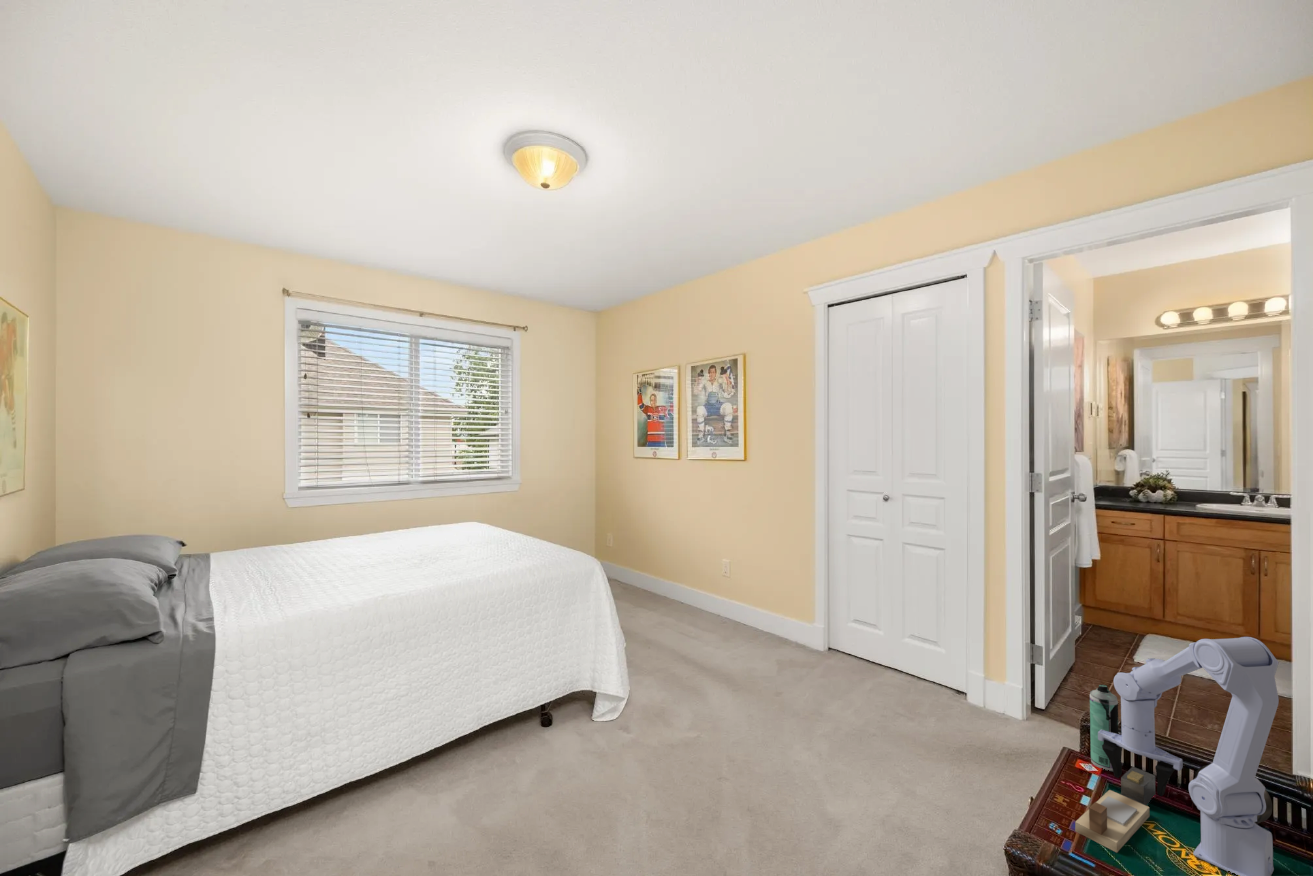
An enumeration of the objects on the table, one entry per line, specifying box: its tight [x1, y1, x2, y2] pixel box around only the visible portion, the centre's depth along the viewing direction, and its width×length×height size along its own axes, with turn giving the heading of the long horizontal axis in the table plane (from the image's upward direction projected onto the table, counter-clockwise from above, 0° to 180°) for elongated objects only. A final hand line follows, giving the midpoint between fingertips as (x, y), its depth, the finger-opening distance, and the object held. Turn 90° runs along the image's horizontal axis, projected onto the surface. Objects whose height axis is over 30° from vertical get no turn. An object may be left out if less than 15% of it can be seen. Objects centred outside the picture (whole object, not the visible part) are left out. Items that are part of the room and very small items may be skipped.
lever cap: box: [1120, 766, 1156, 806], centre depth 124 cm, size 4×7×6 cm, turn 122°
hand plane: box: [1074, 789, 1150, 853], centre depth 116 cm, size 7×18×6 cm, turn 122°
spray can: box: [1089, 684, 1120, 772], centre depth 136 cm, size 6×6×20 cm
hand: (1139, 784), depth 124 cm, fingers open, 7 cm apart
